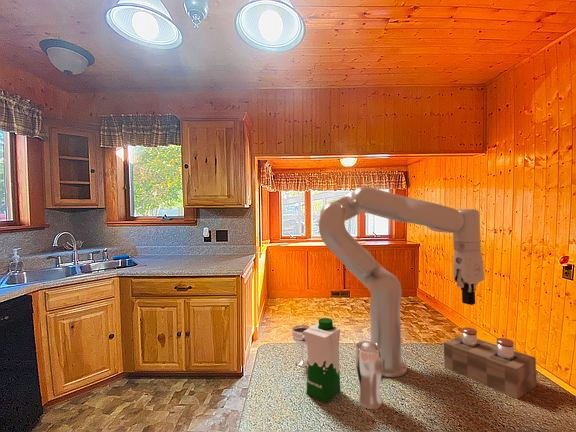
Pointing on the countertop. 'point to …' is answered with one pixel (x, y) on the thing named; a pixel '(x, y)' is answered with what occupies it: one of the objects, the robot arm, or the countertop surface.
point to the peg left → (469, 337)
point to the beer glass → (369, 373)
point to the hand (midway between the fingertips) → (468, 303)
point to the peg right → (505, 349)
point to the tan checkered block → (491, 366)
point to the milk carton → (323, 360)
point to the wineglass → (300, 339)
